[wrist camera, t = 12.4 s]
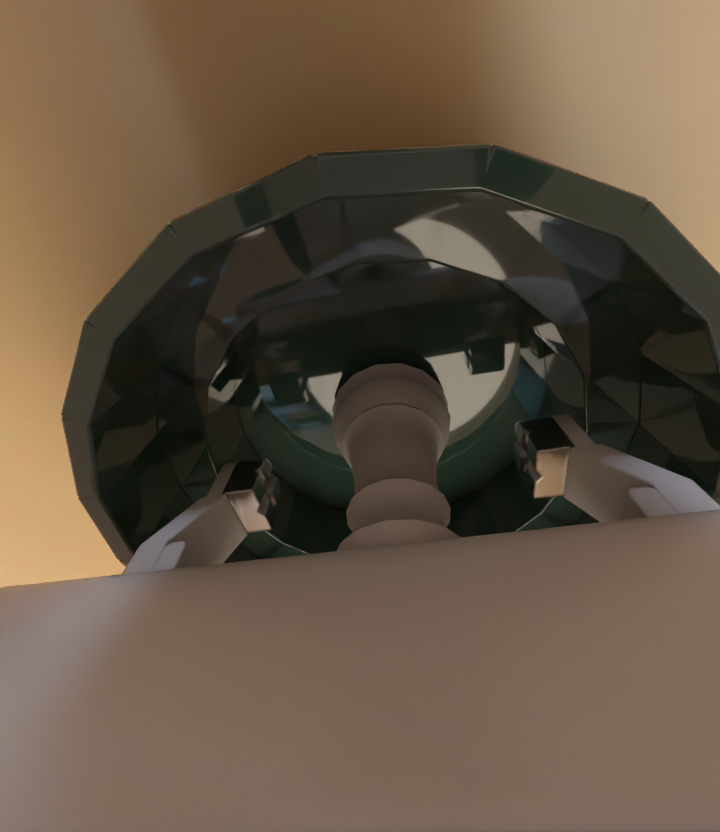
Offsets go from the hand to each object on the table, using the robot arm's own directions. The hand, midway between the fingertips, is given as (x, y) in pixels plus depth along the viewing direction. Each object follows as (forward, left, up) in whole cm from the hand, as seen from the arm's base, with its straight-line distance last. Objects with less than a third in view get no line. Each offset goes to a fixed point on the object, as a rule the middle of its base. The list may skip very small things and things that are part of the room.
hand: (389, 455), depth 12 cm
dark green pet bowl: (0, 0, -4) cm, 4 cm away
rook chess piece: (0, 0, -3) cm, 3 cm away
